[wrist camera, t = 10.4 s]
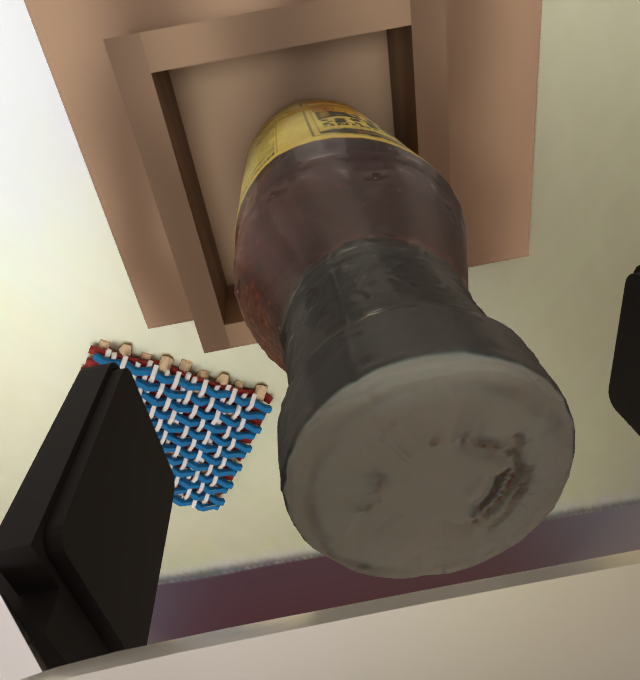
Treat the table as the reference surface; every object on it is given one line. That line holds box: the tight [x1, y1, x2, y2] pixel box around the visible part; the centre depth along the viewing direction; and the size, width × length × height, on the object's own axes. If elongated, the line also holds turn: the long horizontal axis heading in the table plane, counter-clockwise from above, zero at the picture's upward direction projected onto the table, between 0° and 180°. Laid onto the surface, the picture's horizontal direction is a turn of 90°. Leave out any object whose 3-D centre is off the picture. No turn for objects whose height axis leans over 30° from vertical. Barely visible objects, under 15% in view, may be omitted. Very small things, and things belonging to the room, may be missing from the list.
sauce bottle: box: [233, 99, 575, 579], centre depth 16 cm, size 6×6×20 cm
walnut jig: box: [24, 0, 542, 353], centre depth 22 cm, size 20×16×5 cm
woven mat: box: [80, 339, 273, 511], centre depth 32 cm, size 10×11×2 cm
